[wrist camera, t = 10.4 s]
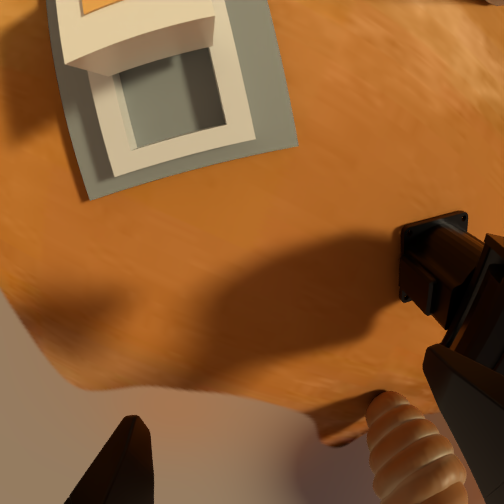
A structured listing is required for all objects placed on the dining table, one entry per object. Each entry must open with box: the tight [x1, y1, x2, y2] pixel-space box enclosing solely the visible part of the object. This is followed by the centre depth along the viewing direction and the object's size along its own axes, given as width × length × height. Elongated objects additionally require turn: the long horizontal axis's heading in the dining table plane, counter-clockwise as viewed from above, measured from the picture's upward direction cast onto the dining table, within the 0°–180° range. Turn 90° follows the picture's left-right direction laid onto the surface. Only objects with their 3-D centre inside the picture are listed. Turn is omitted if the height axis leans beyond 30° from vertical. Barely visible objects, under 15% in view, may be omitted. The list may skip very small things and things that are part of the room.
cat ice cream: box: [366, 391, 468, 504], centre depth 21 cm, size 9×8×18 cm
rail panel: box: [46, 0, 298, 201], centre depth 12 cm, size 12×20×2 cm, turn 12°
